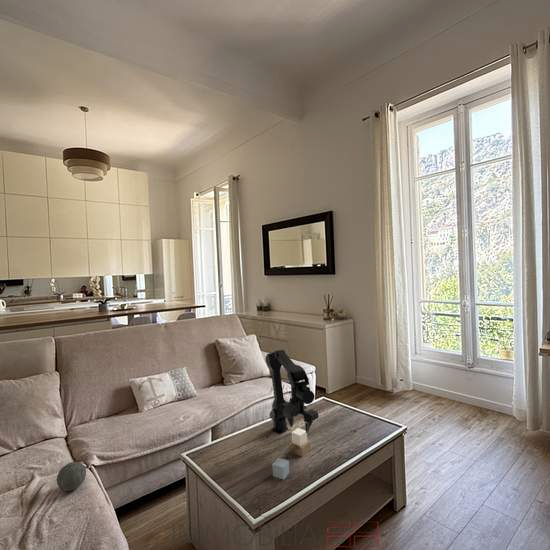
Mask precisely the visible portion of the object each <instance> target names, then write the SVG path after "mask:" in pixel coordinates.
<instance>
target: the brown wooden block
mask: <svg viewBox="0 0 550 550" xmlns="http://www.w3.org/2000/svg"><path fill="white" fill-rule="evenodd" d="M310 450H311V441H310V440H309V439H307V443H305V444H304V445H302V446H301V447H300V446H298V445H296V444H293V443H292V441H291V442H289V443H288V452H289V453H291V454H294V455H297V456H300V457H304V456H305V455H306V454H307V453H308V452H309V451H310Z"/></svg>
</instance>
